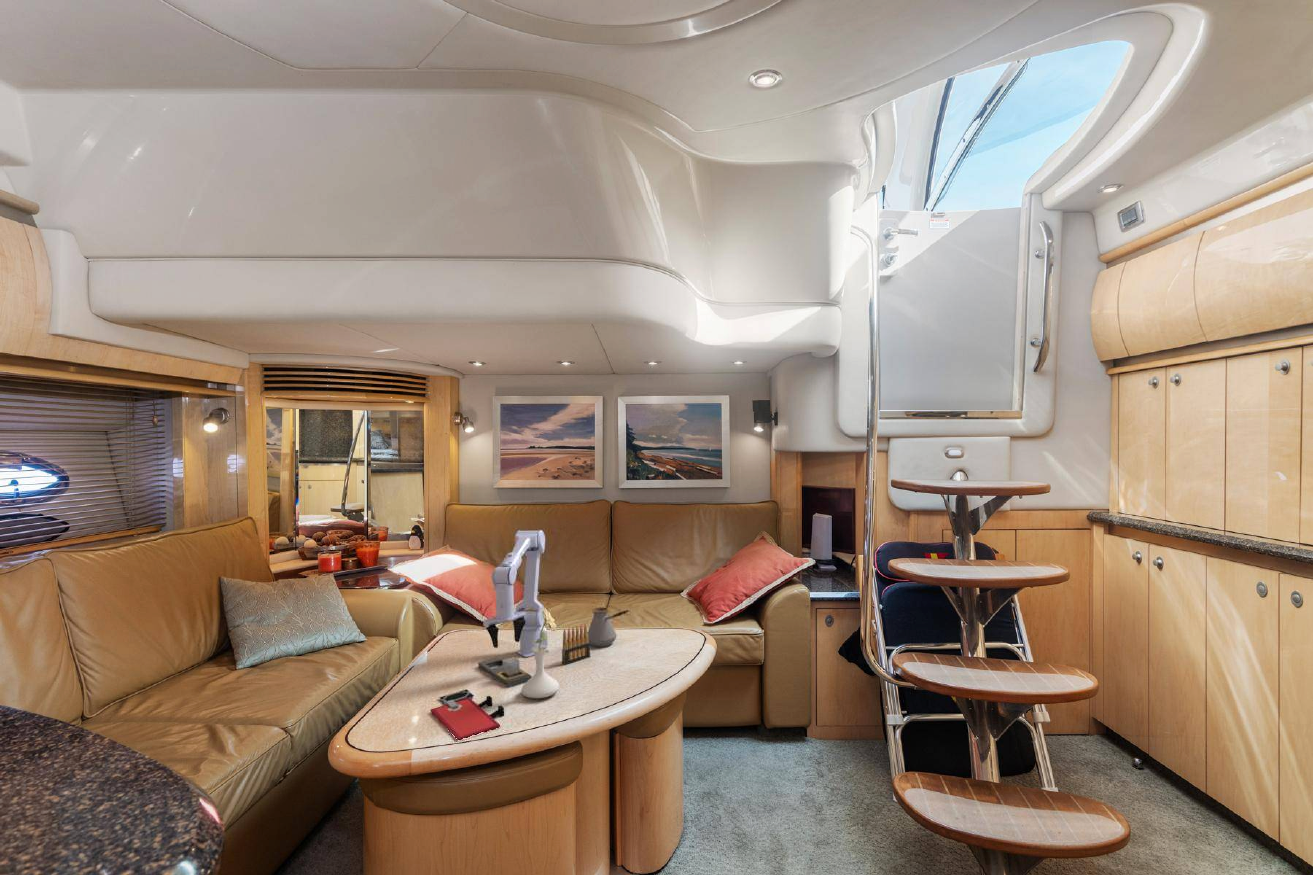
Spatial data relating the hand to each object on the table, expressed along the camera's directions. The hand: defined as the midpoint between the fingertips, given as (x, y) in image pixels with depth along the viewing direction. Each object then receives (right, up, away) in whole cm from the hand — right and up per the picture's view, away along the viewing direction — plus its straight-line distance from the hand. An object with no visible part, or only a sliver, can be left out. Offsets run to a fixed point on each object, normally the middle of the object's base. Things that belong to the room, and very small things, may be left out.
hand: (506, 644), depth 199 cm
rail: (-1, -10, 0) cm, 10 cm away
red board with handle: (-4, -10, -29) cm, 31 cm away
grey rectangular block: (+3, -10, -4) cm, 11 cm away
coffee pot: (+33, -9, +24) cm, 41 cm away
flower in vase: (+15, -9, -17) cm, 24 cm away
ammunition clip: (+22, -9, +10) cm, 26 cm away
